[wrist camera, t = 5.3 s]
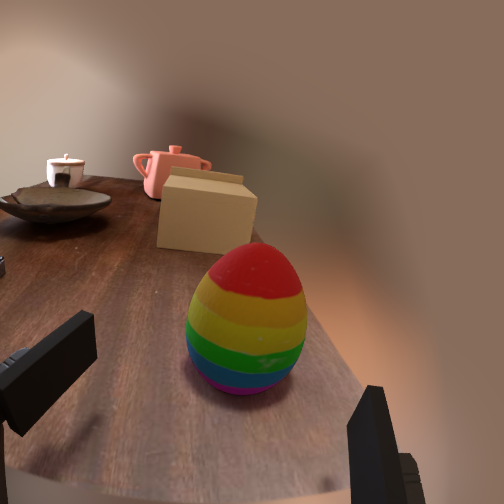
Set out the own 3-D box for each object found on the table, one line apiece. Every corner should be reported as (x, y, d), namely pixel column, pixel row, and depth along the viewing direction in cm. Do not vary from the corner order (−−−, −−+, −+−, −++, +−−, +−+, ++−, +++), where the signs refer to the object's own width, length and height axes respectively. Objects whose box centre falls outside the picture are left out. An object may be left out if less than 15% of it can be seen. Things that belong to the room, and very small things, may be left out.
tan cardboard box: (233, 228, 63) (242, 175, 60) (247, 257, 48) (260, 188, 45) (164, 220, 60) (171, 166, 57) (156, 247, 45) (164, 175, 42)
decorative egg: (290, 418, 19) (337, 282, 16) (168, 393, 19) (178, 250, 16) (289, 351, 27) (319, 240, 24) (196, 332, 27) (211, 219, 24)
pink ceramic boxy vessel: (215, 204, 84) (224, 152, 79) (131, 199, 73) (138, 142, 69) (193, 191, 100) (200, 148, 96) (125, 186, 89) (130, 140, 85)
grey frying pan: (-34, 231, 35) (-36, 183, 32) (50, 197, 63) (52, 164, 61) (74, 252, 37) (75, 194, 35) (135, 208, 66) (139, 173, 63)
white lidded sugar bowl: (52, 194, 66) (55, 156, 64) (40, 187, 72) (43, 153, 69) (88, 191, 75) (92, 156, 72) (73, 185, 80) (76, 153, 78)
